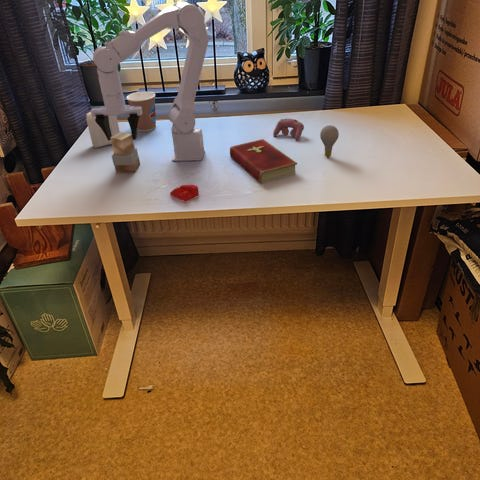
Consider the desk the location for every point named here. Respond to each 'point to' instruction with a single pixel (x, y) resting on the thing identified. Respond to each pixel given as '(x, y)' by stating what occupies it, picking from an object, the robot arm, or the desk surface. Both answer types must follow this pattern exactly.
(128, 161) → the slate-grey top block
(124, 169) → the walnut base block
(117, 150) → the birch block
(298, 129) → the brown arched piece
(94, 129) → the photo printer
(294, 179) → the desk surface
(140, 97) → the coffee cup
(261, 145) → the hardcover book
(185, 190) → the bracket
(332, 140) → the light bulb
